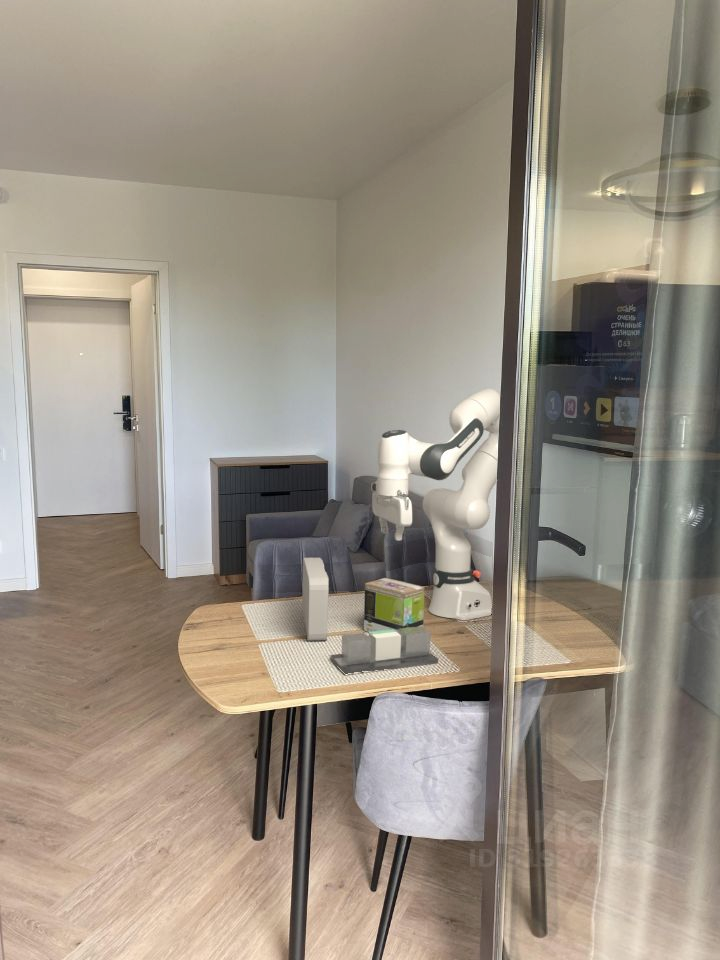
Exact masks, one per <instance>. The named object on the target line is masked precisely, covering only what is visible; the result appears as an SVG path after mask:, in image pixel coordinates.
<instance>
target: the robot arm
mask: <svg viewBox="0 0 720 960" xmlns="http://www.w3.org/2000/svg"><path fill="white" fill-rule="evenodd" d="M500 395H501V394H500V393H499V391H498V390H496V389H494V388H491V387H487V388H483V389H480V390H478V391H476V392H473V393H472V394H470V395H469V396H467V397H466V398H464V399H462V401H460V402H459V403H458V404H456V405H455V406H454V407H453V408H452V409H451V411H450V413H449V417H448V419H449V420H448V421H449V425H450V428H451V430H452V432H453V433H454V435H453V436H452V437H451V438H450V439H448V441H447V442H442V443H441V442H440V443H432V442H423V441H420V440H418V439H415V437H412V436H411V435H410V434H409V433H408V431H407V430H404V429H394V430H392V429H391V430H388V431H386V432H384V433H382V434H381V436H380V439H379V442H378V449H377V464H378V473H377V477H376V481H374V482H372V483H371V484H370V486H371V487H370V488H371V489H370V490H371V491H372V495H371V496H372V498H371V500H372V501H371V504H372V505H371V507H372V512H373V513H372V514H374V516H376V517H377V518H378V521H379V524H380V525H379V526H380V533H381V534H383V535H384V534H389V530H390V529H389V527H388V522H389V523H391V524H394V525H395V529H396V530H395V533H394V535H393V536H394V537H393V538H394V540H395V541H402V540H403V534H404V531H405V529H406V528H405V527H411V526H412V524H413V504H412V501H411V499H410V498H409V497H408V496H409V484H410V483H409V481H410V480H409V479H410V478H409V474H410V475H415V476H419V477H425V478H428V479H432V480H435V481H443V480H446V479H448V477H450V476H451V475H452V473H453V472H454V471H455V469H456V467H457V465H458V464H459V462H460V461H461V460H462V459H463V458H464V457H466V455H467V454H468V453H469V452H470V450H471V449H473V447H474V446H476V444H477V443H478V442H479V440H480V439H481V438H482V437H483V434H484V432H485V431H486V432H488V433H489V434H488V436H487V438H486V439H485V440H484V441H483V442H482V444H481V445H480V446H478V448H477V449H476V450H475V452H474V453H473V455H472V456H471V457H470V459H469V460H468V461H467V462H466V464H464V466H463V468H462V469H461V470H462V471H461V478H462V479H463V483H462V485H461V487H460V488H459V489H458V490H453V489H449V488H435V489H431V490H429V491H427V492H426V494H425V495H424V497H423V499H422V509H423V512H424V514H425V515H426V517H427V518H428V520H429V522H430V524H431V525H430V526H431V528H432V531H433V536H434V542H435V564H434V565H435V566H434V568H433V589H432V594H431V595H432V596H431V601H430V604H429V606H428V612H429V613H431V614H432V615H434V616H438V617H443V618H448V619H455V620H459V621H468V620H474V619H479V618H483V617H488V616H492V615H491V608H492V604H493V603H492V602H493V600H492V596H491V593H490V592H489V590H488V589H487V588H485V587H484V586H483V585H482V584H480V583H479V582H478V581H477V580H476V579H475V578H477V579H479V578H481V576H482V572H481V571H478V570H477V569H476V570H474V569H472V568H471V558H472V557H471V556H472V546H471V543H470V541H469V540H468V538H467V537H466V534H465V533H464V530H479V529H482V528H484V527H485V526H486V524H488V521H489V519H490V516H491V515H490V514H491V509H490V506H489V497H490V494H491V492H492V489H493V487H495V485H496V483H497V482H496V479H497V457H498V435H499V415H500Z"/></svg>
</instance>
